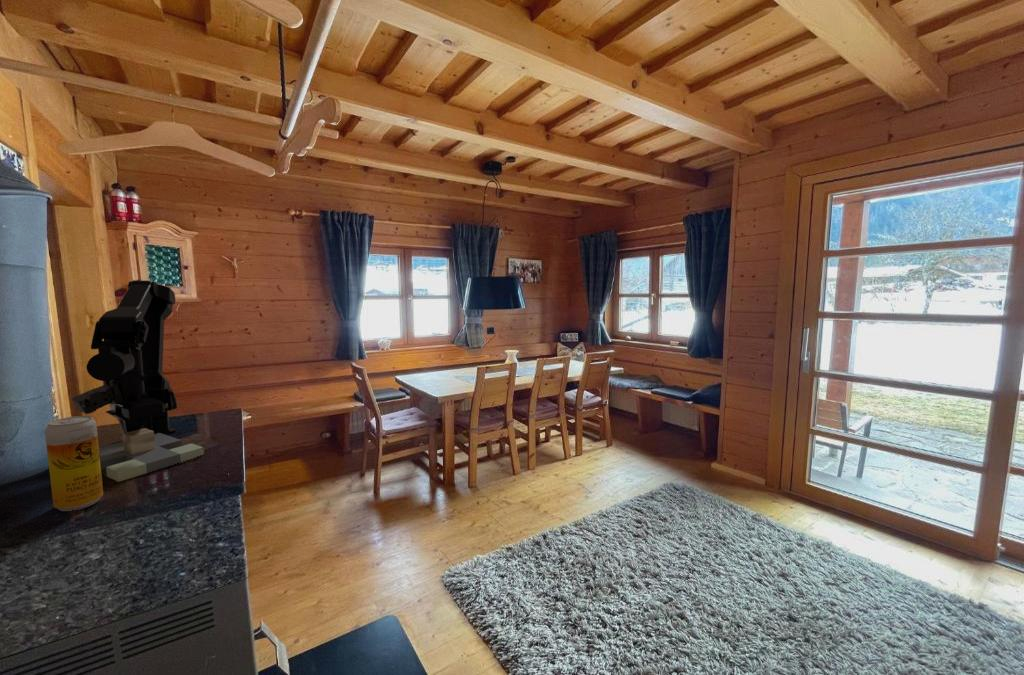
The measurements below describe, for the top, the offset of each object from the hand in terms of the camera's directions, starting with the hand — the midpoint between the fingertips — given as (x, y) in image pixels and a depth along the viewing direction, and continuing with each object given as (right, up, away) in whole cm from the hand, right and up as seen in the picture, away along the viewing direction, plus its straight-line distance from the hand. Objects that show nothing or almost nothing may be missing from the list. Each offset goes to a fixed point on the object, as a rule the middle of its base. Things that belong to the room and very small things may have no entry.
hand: (131, 440), depth 95 cm
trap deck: (+3, -4, -1) cm, 5 cm away
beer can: (+10, -6, -21) cm, 24 cm away
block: (+3, -2, -1) cm, 4 cm away
